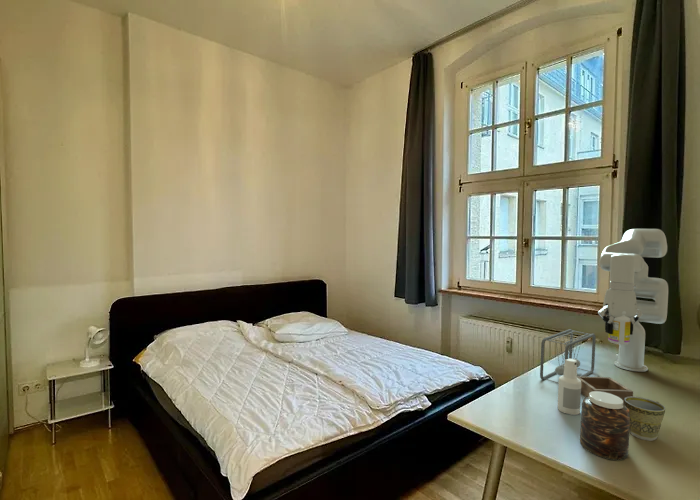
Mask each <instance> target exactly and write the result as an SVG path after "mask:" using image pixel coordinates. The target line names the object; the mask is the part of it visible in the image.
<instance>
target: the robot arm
mask: <svg viewBox="0 0 700 500" xmlns="http://www.w3.org/2000/svg"><path fill="white" fill-rule="evenodd" d="M667 253H668V243H667V237H666V235H665V233H664V231H663V230H662V229H660V228H631V229H628V230H626V231H625V232H624V233H623V235H622V238H621V240H620V241H618V242H616V243H613V244H610V245H607V246H606V247H604V249H603V250H602V252H601V254H600V257H599V260H598V263H599V267H600V269H601V270H602V271H604V272H605V271H606V272H609V280H608V281H609V284H608V285H609V286H608V288H607V289H606V291H605V294H604V297H603V298H604V299H603V304H602V308H600V310H598V311H597V314H598V315H599V316H600V318H601V319H602V320H603V322H604V330H605V333H607V334H608V333H609V334H612V333H613V324H612V321H613V319H614V317H620V316H622V315H625V316H626V317H629V318H630V342H629V344H628V345H620V344H618V354H617V353H616V354H615V357H616V358H617V360H614V362H613V364H614V366H615V367H616V368H620V369H622V370H625V371H626V370H627V371H630V372H639V373H640V372H641V373H644V372H647V371H648V370H649V368H648V366H647V365H645V348H646V347H645V345H646V330H645V328H644V326H643V325H642V324H641V323H642V322H643V323H651V324H655V325H656V324H657V325H658V324H659V325H661V324H665V322H666V321H667V316H668V306H669V304H668V303H669V283H668V282H667V281H666V280H665V279H663V278H661V277H660V278H659V277H650V276H649V266H648V264H647V263H646V261H645V259H644V258H657V259H658V258H663V257H665V256H666V255H667ZM637 298H643V299H652V300H653V301H650V300H649V301H648V300H642V299H641V300H640V299H637ZM623 311H625V312H626V314H622V312H623Z"/></svg>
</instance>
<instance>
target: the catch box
mask: <svg viewBox="0 0 700 500" xmlns="http://www.w3.org/2000/svg"><path fill="white" fill-rule="evenodd" d="M577 378H578V379H580V380H581V396H583V397H584V398H586V397H589V393H590V392H593V391H600V392H606V393H610V394H613V395H615V396H618V397H619V398H621V399H622V400H623V405H624V406H625V404H624V398H626V397H630V396H634V391H633V390H632V389H630V388H628V387H627V386H625V385H623V384H622V383H620V382H618V381H616V380H615V379H613V378H612V377H609V376H607V377H606V376H586V377H585V376H582V375H580V376H579V375H577Z"/></svg>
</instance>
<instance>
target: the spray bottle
mask: <svg viewBox="0 0 700 500" xmlns="http://www.w3.org/2000/svg"><path fill="white" fill-rule="evenodd" d="M574 359H575V358H574ZM574 359H573V358H572V359H570V358H569V357H568V359H565V358H564V363H565V365H564V375H559V377H558V383H559V384H558V387H557V389H558V390H557V409H558V411H559V412H561V413H563V414H566V415H570V416H577V415H579V414H580V413H581V404H582V402H581V399H582V394H581V380H580V379H578V378H577V376H578V369H577V368H578V367H577V365H576V364H577V361H576V360H574Z"/></svg>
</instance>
